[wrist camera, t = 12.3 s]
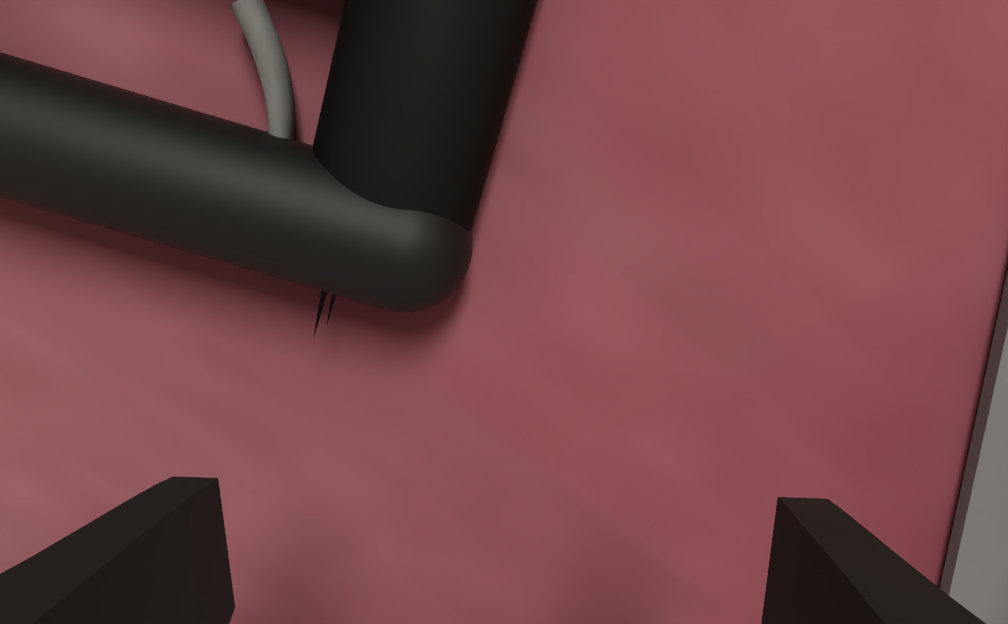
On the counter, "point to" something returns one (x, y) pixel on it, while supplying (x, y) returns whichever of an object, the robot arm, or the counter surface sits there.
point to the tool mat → (984, 497)
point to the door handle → (292, 152)
